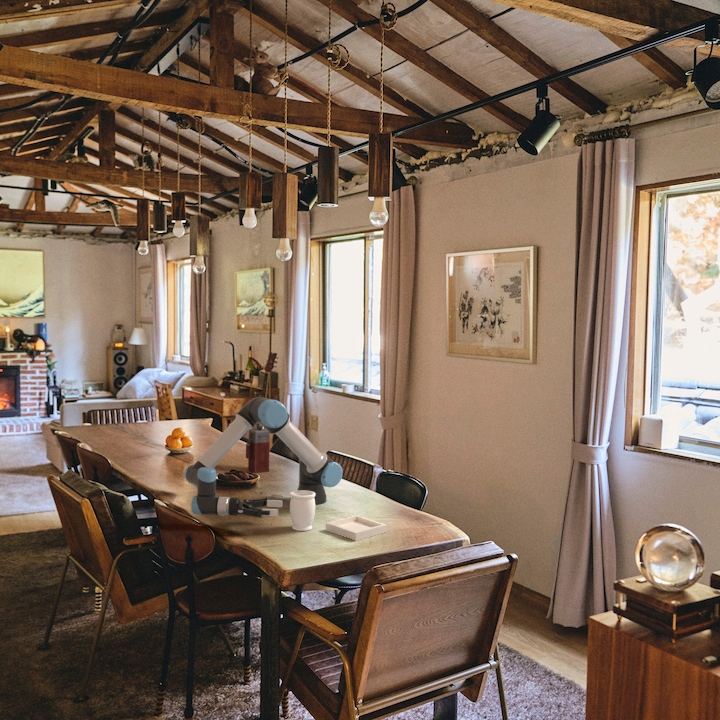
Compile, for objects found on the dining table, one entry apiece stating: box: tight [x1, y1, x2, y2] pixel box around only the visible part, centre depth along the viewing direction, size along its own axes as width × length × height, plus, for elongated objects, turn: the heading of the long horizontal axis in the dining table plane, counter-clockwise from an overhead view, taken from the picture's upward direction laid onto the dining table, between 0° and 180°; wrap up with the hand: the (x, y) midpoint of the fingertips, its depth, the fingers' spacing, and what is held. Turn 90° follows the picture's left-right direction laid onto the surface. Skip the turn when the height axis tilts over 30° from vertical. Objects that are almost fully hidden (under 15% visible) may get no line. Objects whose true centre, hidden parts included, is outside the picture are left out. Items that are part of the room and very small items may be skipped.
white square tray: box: [325, 514, 388, 542], centre depth 292 cm, size 18×18×3 cm
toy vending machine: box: [245, 423, 271, 474], centre depth 396 cm, size 9×11×28 cm
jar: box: [289, 490, 316, 532], centre depth 293 cm, size 11×10×15 cm
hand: (280, 508), depth 293 cm, fingers open, 13 cm apart
